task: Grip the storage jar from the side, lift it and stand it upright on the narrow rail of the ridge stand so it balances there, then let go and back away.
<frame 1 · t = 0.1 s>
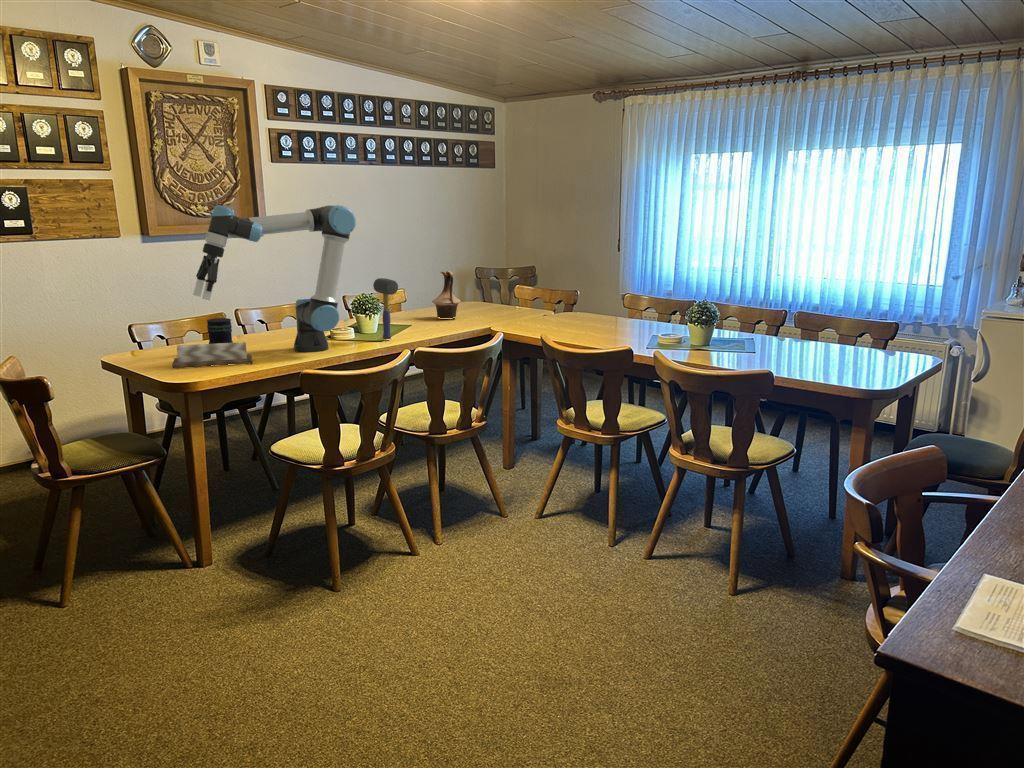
hand: (201, 297, 286), 28 cm above the table, tool tilted 20°, fingers open, 13 cm apart
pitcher: (446, 319, 425), on the table
rubber mallet: (387, 340, 355), on the table
storage jar: (221, 354, 318), on the table
ridge stand: (213, 362, 300), on the table
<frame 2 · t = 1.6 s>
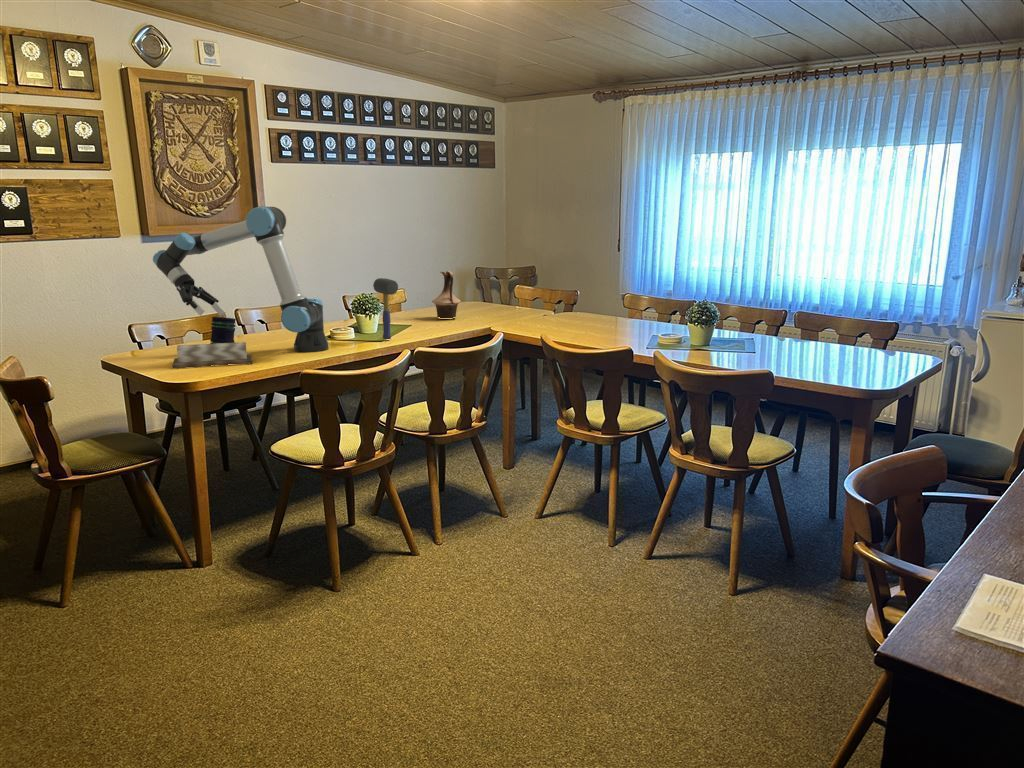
hand: (213, 313, 308), 18 cm above the table, tool tilted 50°, fingers open, 13 cm apart
storage jar: (221, 352, 318), point 1 cm above the table, touching gripper
everything else where it was.
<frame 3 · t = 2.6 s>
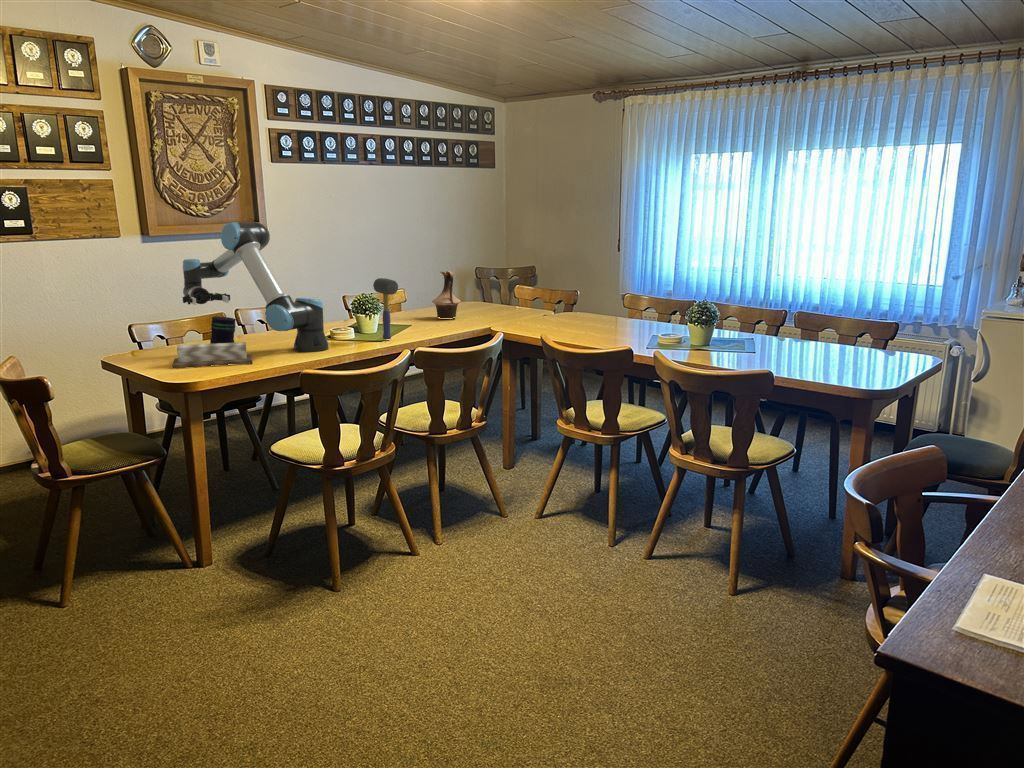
hand: (211, 300, 320), 22 cm above the table, tool horizontal, fingers open, 13 cm apart
storage jar: (221, 352, 318), on the table
everything else where it was.
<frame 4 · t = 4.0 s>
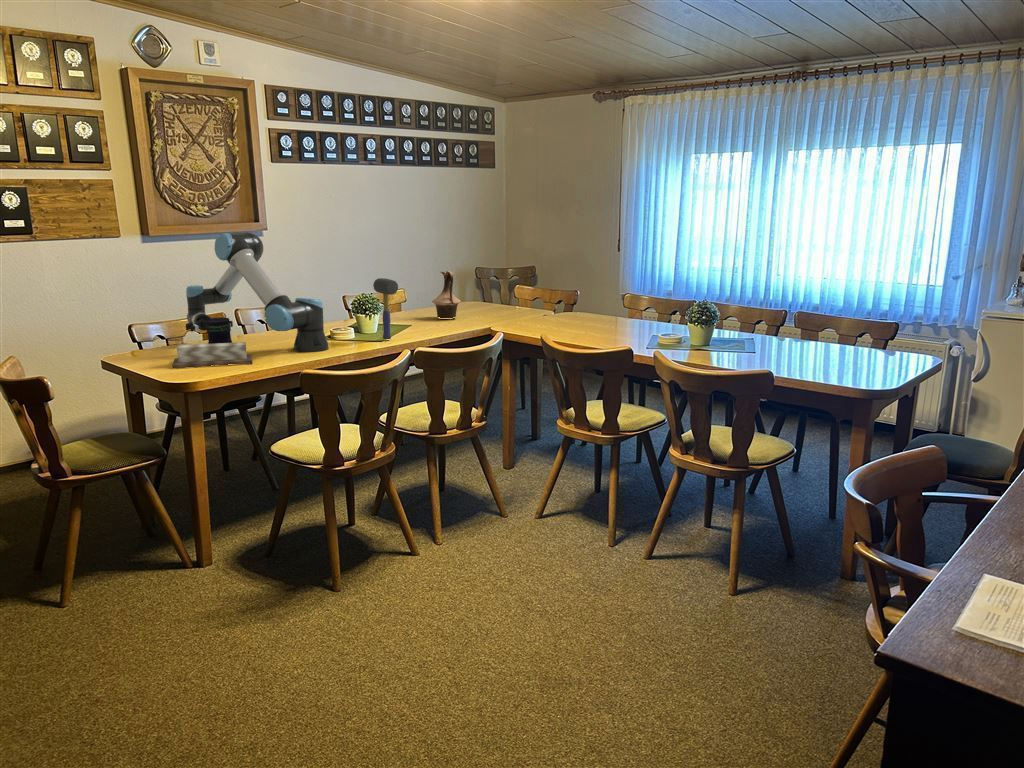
hand: (214, 327, 324), 10 cm above the table, tool horizontal, fingers open, 13 cm apart
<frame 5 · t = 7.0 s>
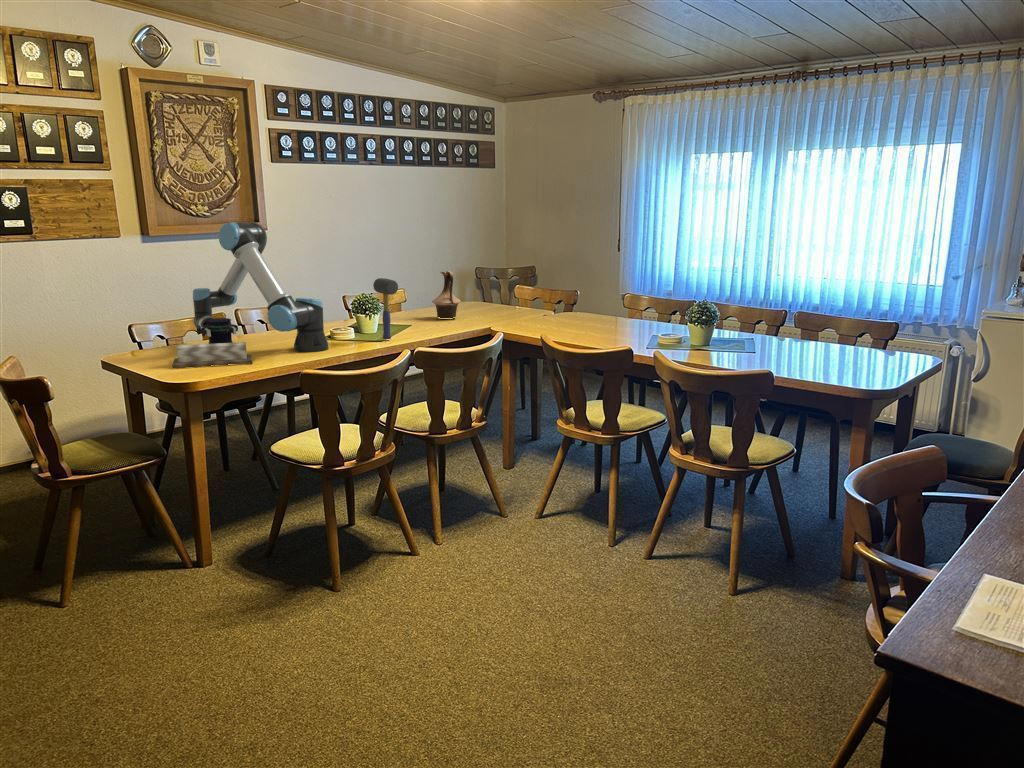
hand: (222, 332, 313), 10 cm above the table, tool horizontal, fingers closed on storage jar, 10 cm apart
storage jar: (221, 354, 319), on the table, touching gripper
everything else where it was.
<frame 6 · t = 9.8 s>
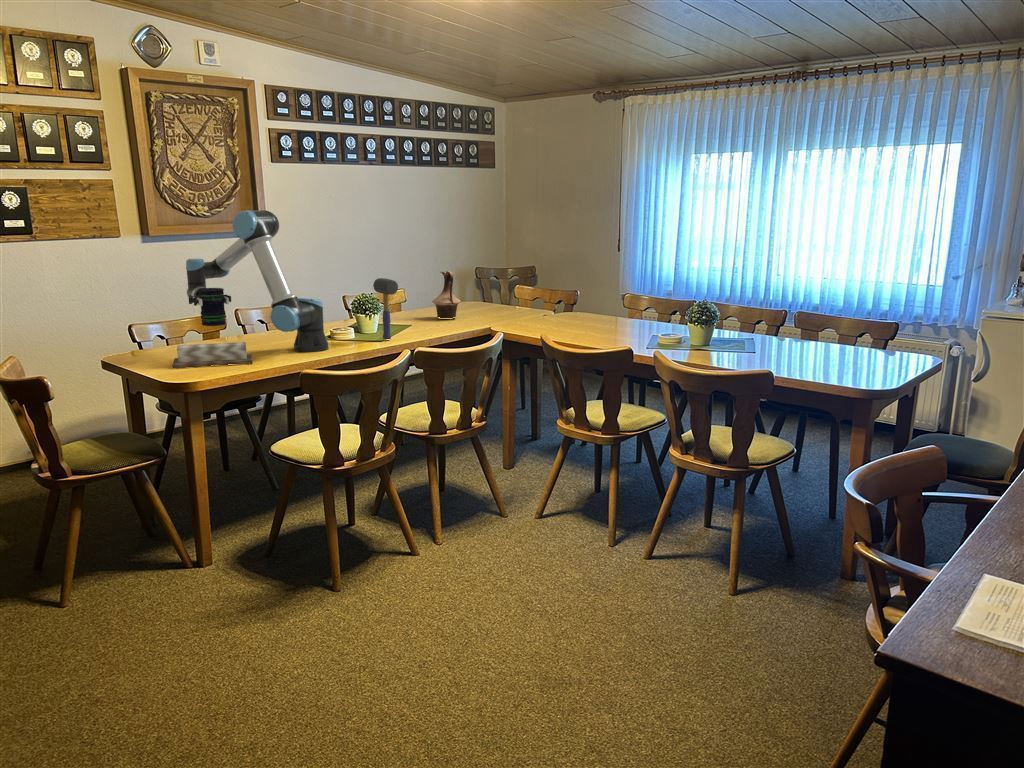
hand: (214, 301, 304), 24 cm above the table, tool horizontal, fingers closed on storage jar, 10 cm apart
storage jar: (214, 324, 310), point 14 cm above the table, touching gripper
everything else where it was.
when the fingers open (19 cm above the table, at t = 12.5 s): storage jar drops 1 cm, resting on ridge stand.
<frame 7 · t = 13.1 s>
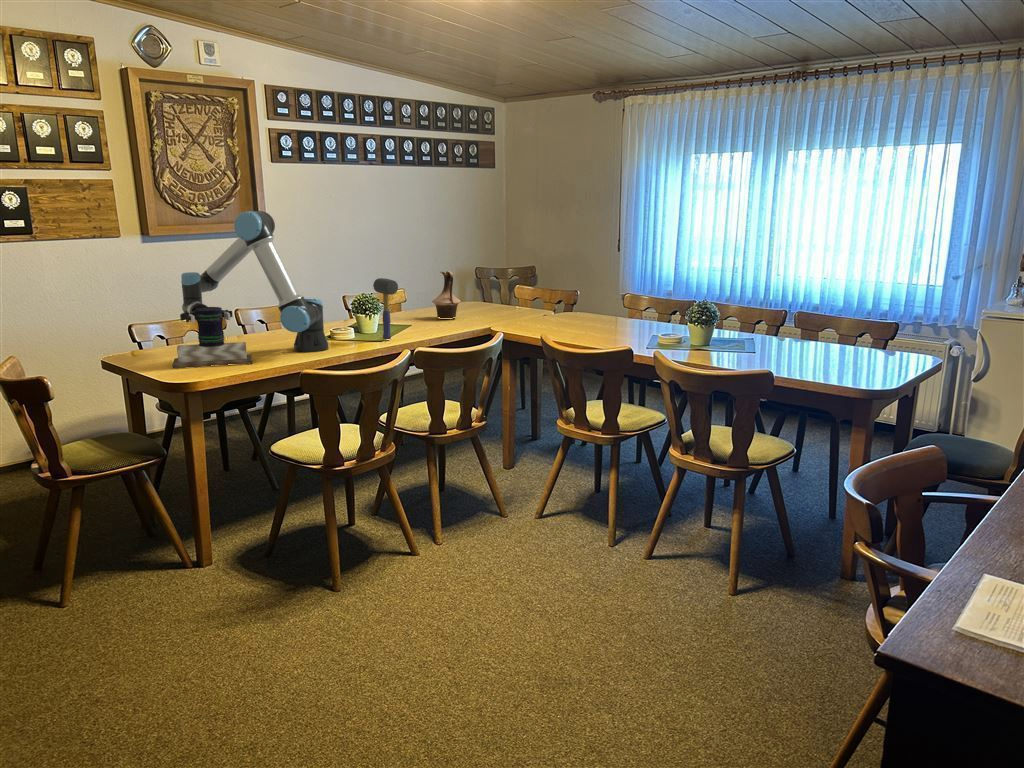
hand: (211, 318, 293), 19 cm above the table, tool horizontal, fingers open, 13 cm apart
storage jar: (211, 345, 299), point 7 cm above the table, touching ridge stand
everything else where it was.
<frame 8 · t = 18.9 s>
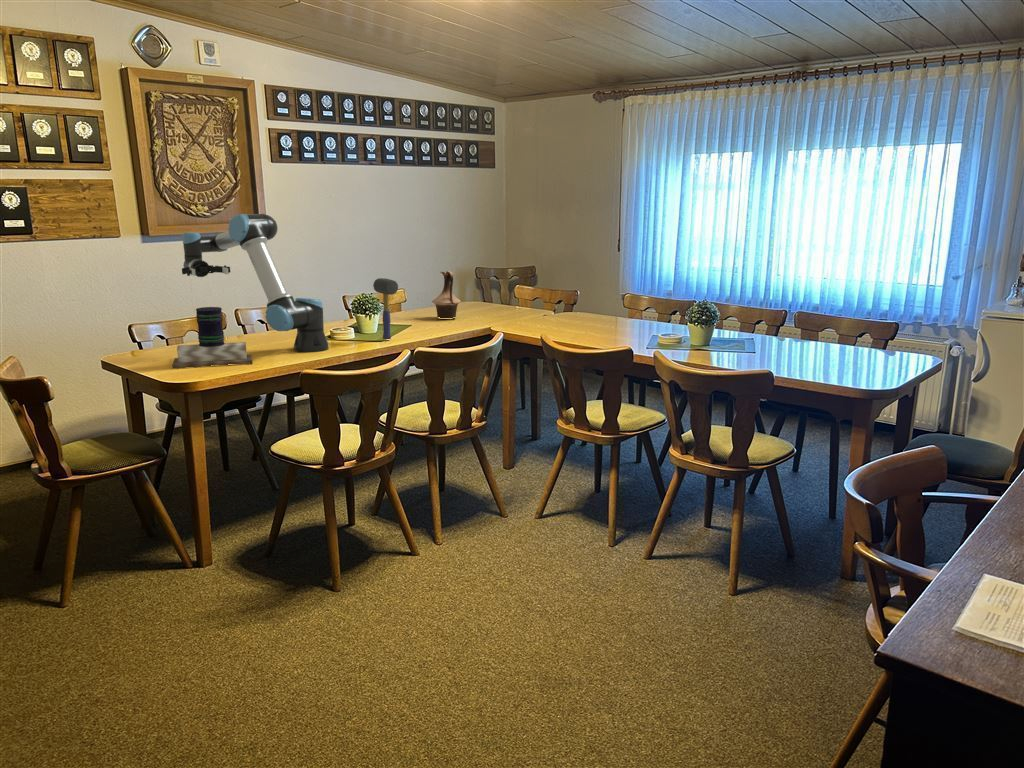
hand: (211, 271, 315), 35 cm above the table, tool horizontal, fingers open, 13 cm apart
nothing on the table moved.
at the end: storage jar inside the target area on the ridge stand (0.3 cm from its centre), point 7.3 cm above the ridge stand's base; storage jar tilted 0°; the gripper is holding nothing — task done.
